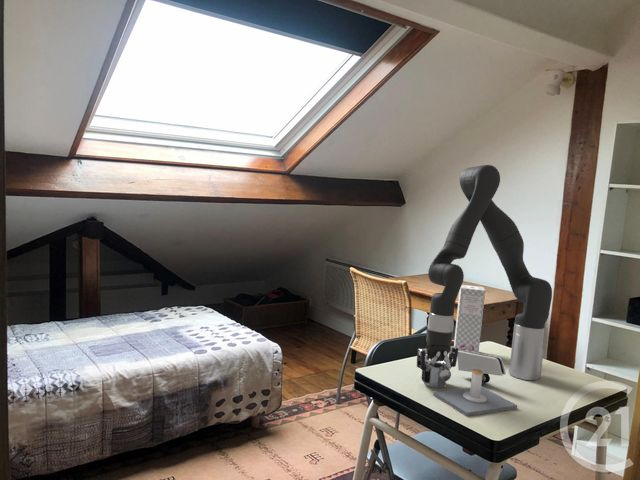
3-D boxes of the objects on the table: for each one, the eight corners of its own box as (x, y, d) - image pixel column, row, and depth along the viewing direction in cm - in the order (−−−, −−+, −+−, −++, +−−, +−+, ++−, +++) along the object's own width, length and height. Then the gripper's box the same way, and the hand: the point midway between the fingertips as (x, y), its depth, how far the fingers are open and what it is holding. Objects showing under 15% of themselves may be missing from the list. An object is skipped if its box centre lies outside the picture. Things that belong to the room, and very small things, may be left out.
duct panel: (481, 389, 150) (484, 360, 149) (516, 408, 137) (520, 377, 137) (433, 395, 142) (436, 364, 142) (466, 416, 130) (469, 383, 129)
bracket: (458, 382, 159) (501, 388, 147) (455, 351, 159) (498, 355, 148) (465, 380, 161) (508, 386, 150) (463, 349, 162) (505, 353, 150)
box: (454, 354, 184) (461, 288, 181) (453, 347, 192) (460, 284, 190) (478, 357, 182) (485, 290, 180) (476, 351, 190) (483, 287, 188)
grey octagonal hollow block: (436, 379, 155) (438, 360, 155) (453, 389, 148) (455, 369, 147) (420, 381, 153) (422, 361, 152) (436, 391, 145) (438, 371, 145)
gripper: (451, 323, 156) (445, 375, 158) (413, 325, 150) (408, 378, 151) (467, 330, 149) (461, 383, 151) (428, 332, 143) (423, 388, 145)
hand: (434, 381), depth 151 cm, fingers open, 6 cm apart
